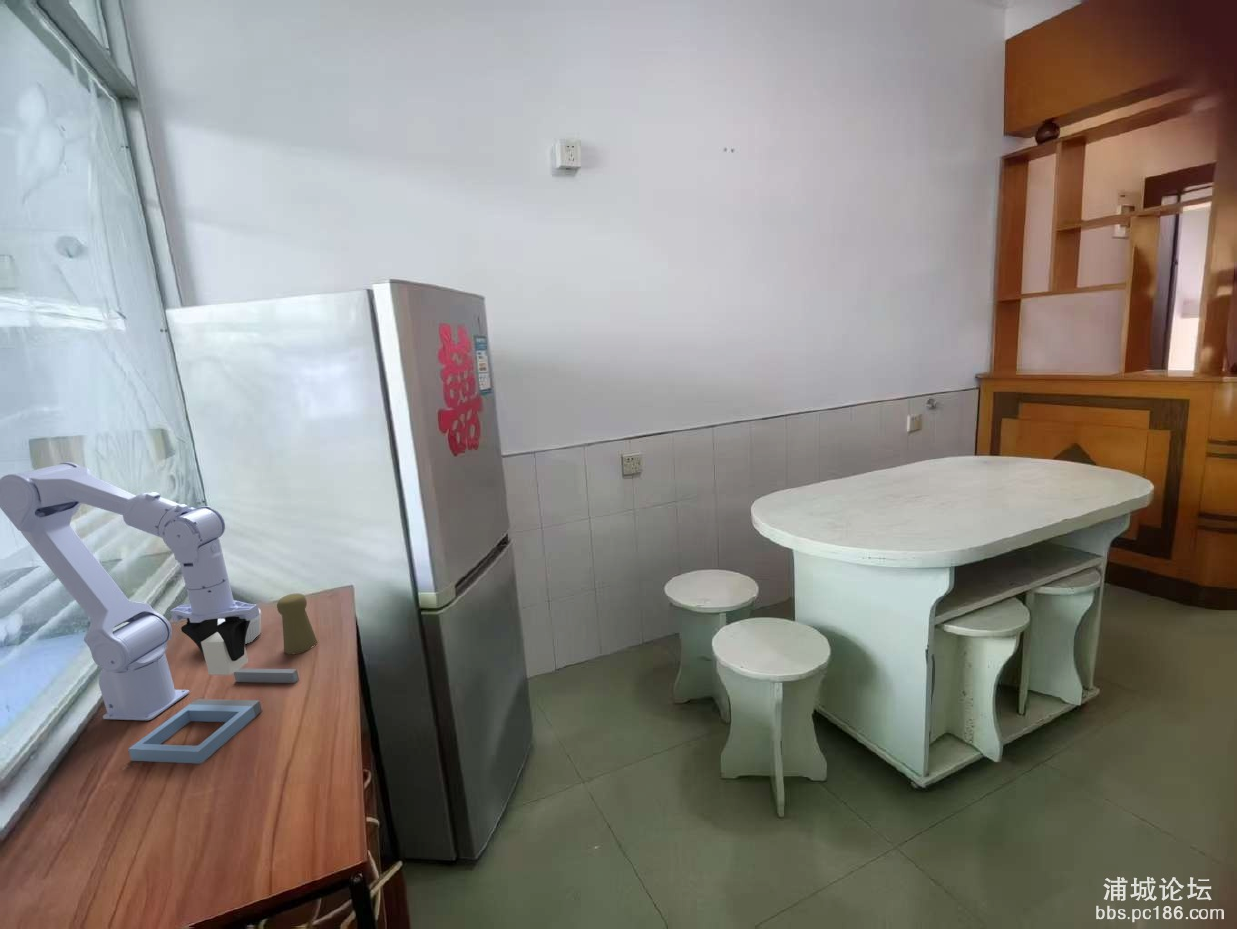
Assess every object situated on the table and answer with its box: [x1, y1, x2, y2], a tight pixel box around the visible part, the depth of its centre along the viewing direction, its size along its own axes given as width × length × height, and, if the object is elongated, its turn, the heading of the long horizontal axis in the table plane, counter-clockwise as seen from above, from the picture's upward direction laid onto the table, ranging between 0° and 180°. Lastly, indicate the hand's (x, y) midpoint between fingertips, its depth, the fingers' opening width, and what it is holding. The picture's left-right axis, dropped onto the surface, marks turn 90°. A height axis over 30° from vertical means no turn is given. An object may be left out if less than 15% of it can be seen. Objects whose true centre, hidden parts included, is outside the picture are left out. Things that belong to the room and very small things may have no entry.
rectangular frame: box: [128, 667, 300, 764], centre depth 97 cm, size 12×21×2 cm, turn 171°
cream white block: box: [201, 632, 249, 676], centre depth 98 cm, size 4×4×6 cm
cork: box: [276, 593, 318, 655], centre depth 117 cm, size 6×6×11 cm
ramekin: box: [218, 607, 262, 645], centre depth 122 cm, size 11×11×5 cm
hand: (226, 657), depth 98 cm, fingers closed on cream white block, 4 cm apart
